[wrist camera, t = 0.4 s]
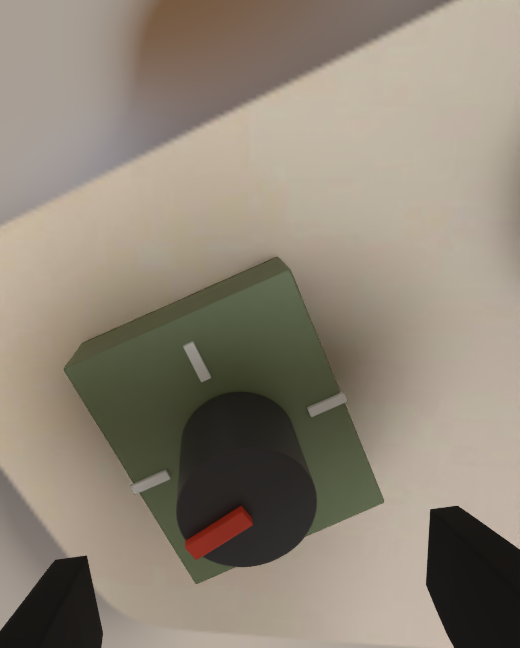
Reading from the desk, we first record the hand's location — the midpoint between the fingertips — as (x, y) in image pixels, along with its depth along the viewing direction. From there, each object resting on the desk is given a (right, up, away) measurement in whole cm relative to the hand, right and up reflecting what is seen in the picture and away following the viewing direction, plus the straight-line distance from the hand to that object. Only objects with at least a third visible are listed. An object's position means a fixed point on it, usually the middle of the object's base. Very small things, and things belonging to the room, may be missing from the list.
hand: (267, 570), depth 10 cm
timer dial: (-1, +1, +7) cm, 7 cm away
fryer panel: (-1, +2, +9) cm, 9 cm away
